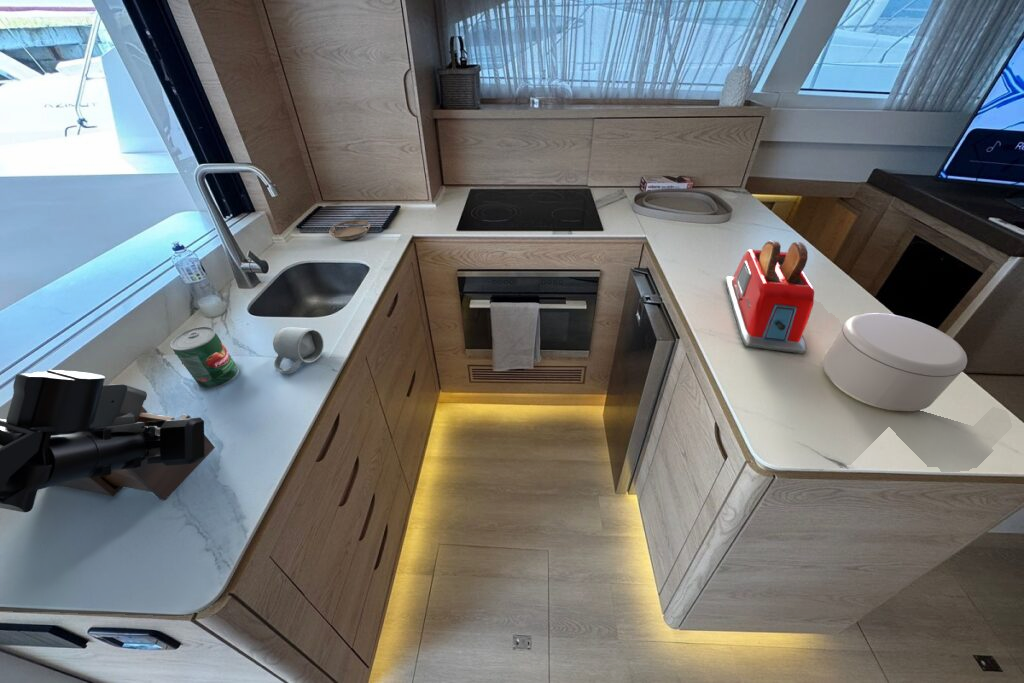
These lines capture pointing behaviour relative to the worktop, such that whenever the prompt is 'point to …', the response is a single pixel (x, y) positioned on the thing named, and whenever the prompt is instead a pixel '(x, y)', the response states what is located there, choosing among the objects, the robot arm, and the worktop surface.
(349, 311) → the worktop surface
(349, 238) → the saucer
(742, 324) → the toaster
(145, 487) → the drawer
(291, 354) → the ceramic mug
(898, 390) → the container
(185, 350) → the canned tomato
